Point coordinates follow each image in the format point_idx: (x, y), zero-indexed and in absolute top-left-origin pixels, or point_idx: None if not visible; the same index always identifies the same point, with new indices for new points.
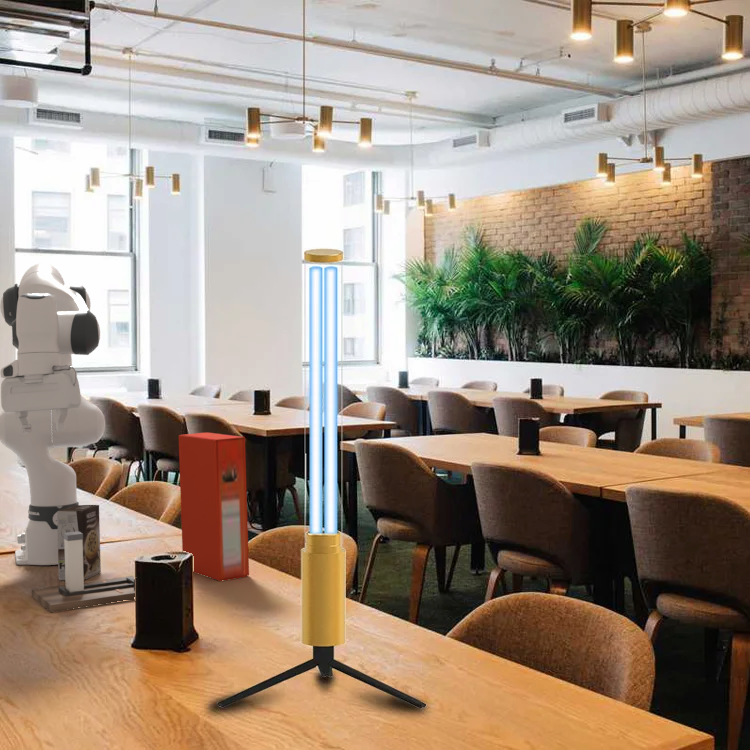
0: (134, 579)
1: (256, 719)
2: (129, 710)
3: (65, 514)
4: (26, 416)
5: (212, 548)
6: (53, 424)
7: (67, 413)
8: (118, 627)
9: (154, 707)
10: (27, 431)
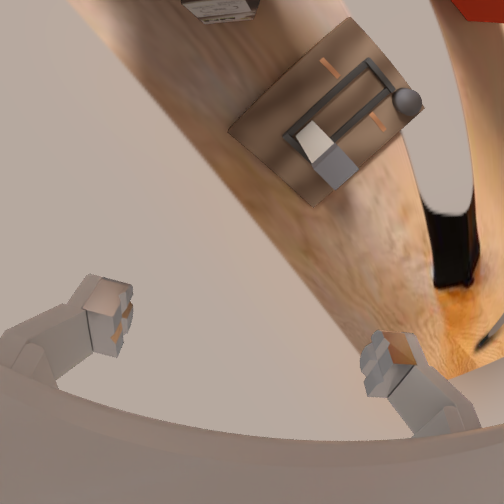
0: (400, 106)
1: (490, 350)
2: (440, 363)
3: (209, 3)
4: (44, 355)
5: (485, 7)
6: (371, 388)
7: (472, 407)
8: (412, 241)
9: (452, 357)
10: (131, 313)
